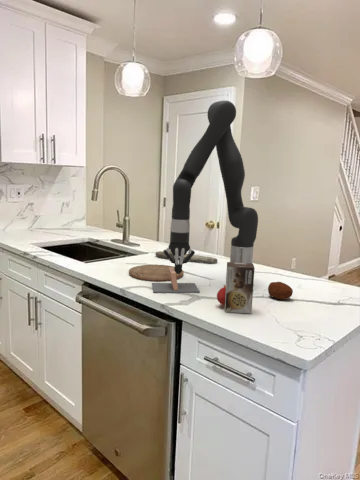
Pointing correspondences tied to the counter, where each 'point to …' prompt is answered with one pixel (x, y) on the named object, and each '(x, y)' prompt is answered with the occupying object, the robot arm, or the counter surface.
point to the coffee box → (239, 287)
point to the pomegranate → (221, 296)
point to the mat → (181, 289)
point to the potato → (280, 290)
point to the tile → (173, 278)
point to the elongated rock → (194, 258)
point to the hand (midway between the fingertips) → (178, 273)
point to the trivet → (153, 273)
